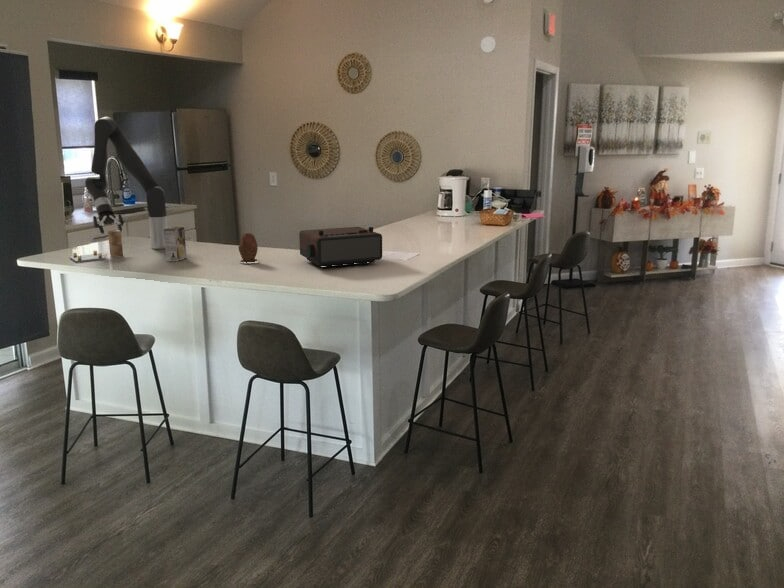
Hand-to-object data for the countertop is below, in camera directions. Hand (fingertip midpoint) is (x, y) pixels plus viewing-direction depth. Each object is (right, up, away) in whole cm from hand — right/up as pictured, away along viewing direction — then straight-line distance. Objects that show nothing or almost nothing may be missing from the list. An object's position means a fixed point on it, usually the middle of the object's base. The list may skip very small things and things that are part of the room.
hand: (111, 232), depth 350 cm
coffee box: (+37, -15, -11) cm, 41 cm away
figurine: (+75, -17, -18) cm, 79 cm away
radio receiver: (+119, -17, -20) cm, 122 cm away
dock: (-8, -14, -9) cm, 19 cm away
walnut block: (+3, -12, -1) cm, 13 cm away
